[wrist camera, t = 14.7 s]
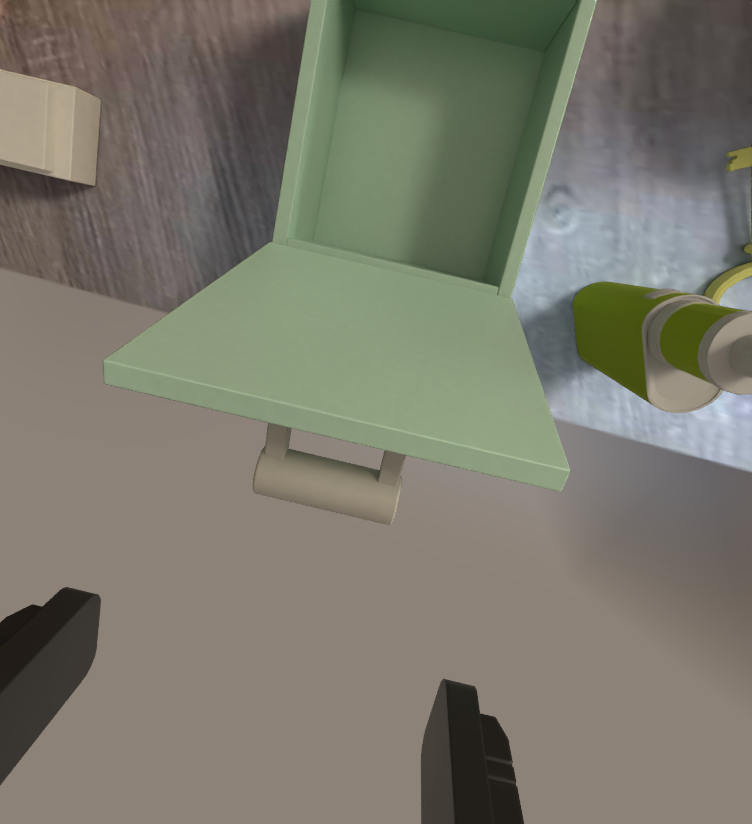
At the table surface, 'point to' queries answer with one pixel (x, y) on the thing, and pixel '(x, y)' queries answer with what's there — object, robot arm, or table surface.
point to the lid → (353, 375)
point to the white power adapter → (48, 128)
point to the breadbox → (428, 132)
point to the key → (732, 276)
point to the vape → (664, 343)
